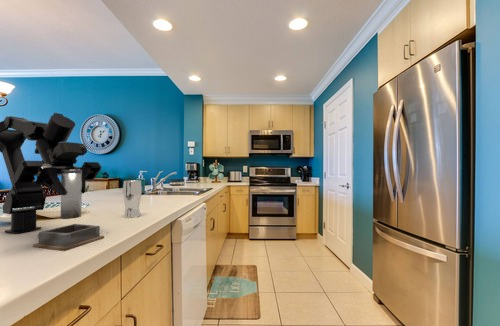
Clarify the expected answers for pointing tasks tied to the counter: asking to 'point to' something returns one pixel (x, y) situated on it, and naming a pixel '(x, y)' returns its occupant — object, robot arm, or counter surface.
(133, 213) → the beer glass
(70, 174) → the brushed metal canister
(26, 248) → the counter surface
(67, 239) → the socket
